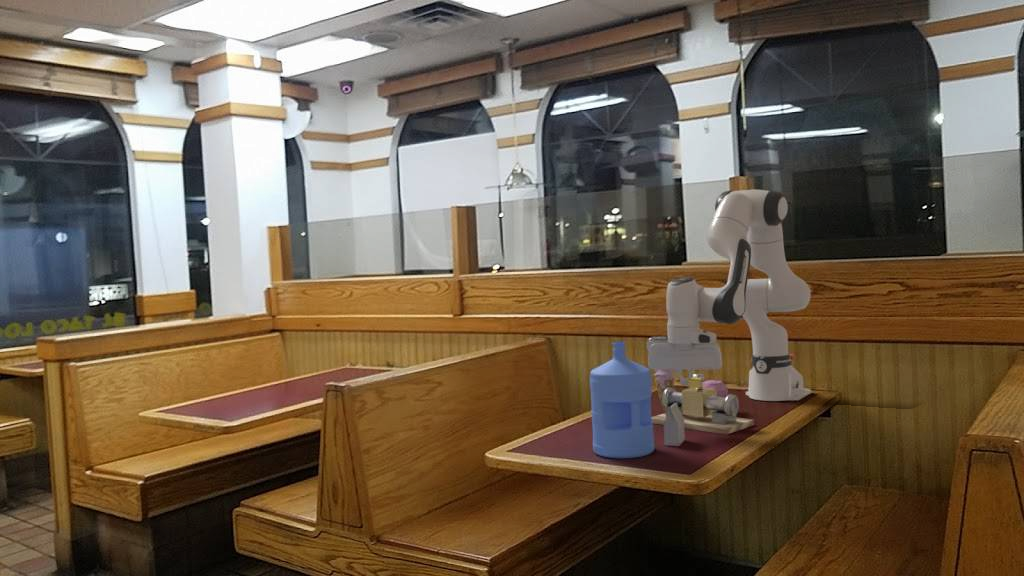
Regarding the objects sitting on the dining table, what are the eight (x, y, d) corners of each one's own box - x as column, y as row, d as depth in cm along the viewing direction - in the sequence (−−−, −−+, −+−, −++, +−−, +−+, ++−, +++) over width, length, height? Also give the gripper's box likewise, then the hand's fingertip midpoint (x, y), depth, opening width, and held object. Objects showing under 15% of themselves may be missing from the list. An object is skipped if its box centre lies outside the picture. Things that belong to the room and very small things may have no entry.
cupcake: (722, 415, 249) (721, 382, 248) (695, 413, 253) (693, 381, 253) (732, 410, 256) (731, 377, 255) (705, 408, 261) (704, 376, 260)
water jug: (582, 449, 217) (577, 342, 215) (633, 441, 223) (629, 337, 222) (612, 462, 202) (607, 348, 201) (667, 453, 209) (662, 342, 207)
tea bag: (684, 440, 222) (683, 402, 221) (678, 446, 215) (677, 408, 215) (671, 439, 223) (669, 402, 223) (664, 445, 217) (663, 407, 217)
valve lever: (693, 380, 241) (693, 373, 241) (705, 380, 240) (704, 373, 240) (688, 388, 229) (687, 380, 229) (700, 388, 228) (699, 380, 228)
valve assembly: (677, 414, 254) (675, 375, 253) (753, 425, 235) (752, 382, 234) (649, 422, 244) (647, 382, 244) (726, 434, 225) (724, 390, 224)
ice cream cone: (675, 413, 256) (673, 364, 255) (654, 413, 257) (652, 365, 256) (675, 408, 262) (673, 361, 261) (655, 409, 263) (653, 362, 263)
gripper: (644, 338, 232) (646, 387, 233) (720, 337, 226) (721, 387, 226) (648, 335, 238) (650, 383, 239) (721, 334, 232) (723, 383, 232)
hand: (685, 385), depth 233 cm, fingers closed
